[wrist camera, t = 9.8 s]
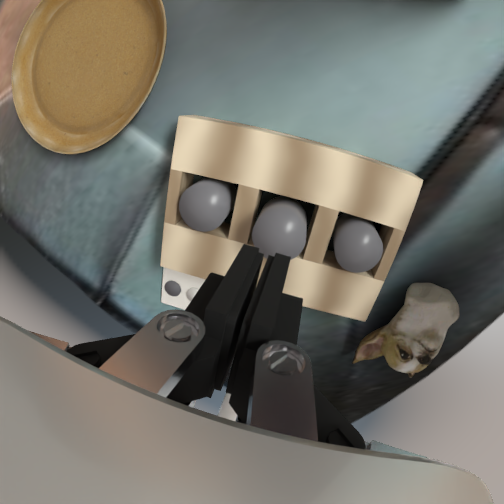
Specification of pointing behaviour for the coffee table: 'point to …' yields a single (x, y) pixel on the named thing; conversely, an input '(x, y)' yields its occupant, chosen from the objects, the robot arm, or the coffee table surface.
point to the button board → (295, 186)
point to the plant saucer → (86, 69)
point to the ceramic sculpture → (413, 330)
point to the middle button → (281, 228)
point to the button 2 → (356, 243)
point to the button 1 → (207, 203)
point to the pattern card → (179, 288)
